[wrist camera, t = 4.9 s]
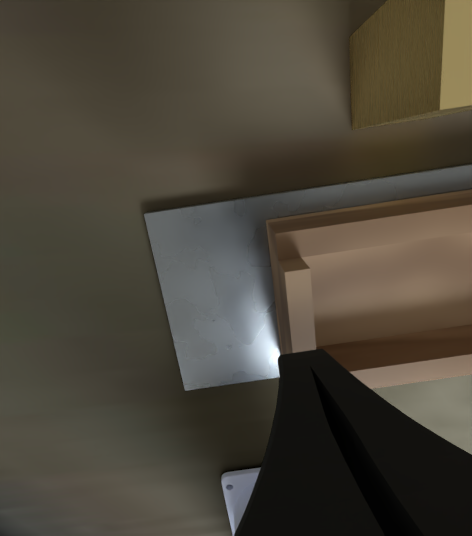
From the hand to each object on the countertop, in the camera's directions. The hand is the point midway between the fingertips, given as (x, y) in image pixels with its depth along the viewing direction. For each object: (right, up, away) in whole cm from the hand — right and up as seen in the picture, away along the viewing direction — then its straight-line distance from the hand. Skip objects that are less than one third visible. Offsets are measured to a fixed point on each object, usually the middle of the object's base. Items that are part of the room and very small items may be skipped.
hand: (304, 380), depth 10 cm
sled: (+10, +3, +8) cm, 14 cm away
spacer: (+5, +12, +6) cm, 15 cm away
